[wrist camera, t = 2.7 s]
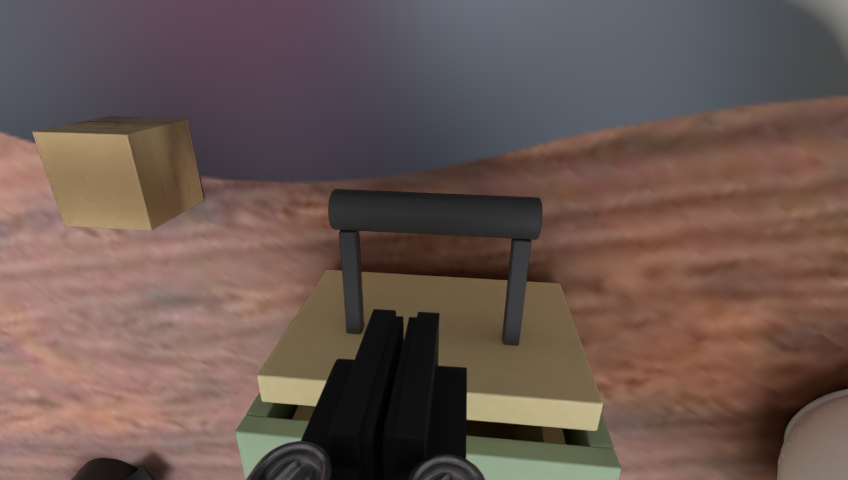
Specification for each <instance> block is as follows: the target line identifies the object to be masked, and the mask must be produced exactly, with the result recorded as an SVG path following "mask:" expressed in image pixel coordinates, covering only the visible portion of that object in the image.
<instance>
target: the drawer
mask: <svg viewBox="0 0 848 480" xmlns="http://www.w3.org/2000/svg"><path fill="white" fill-rule="evenodd" d="M328 215H329V222H330V225H331V227H332V228H333V229H335V230H340V232H339V236H340V250H341V264H342V271H341V270H326V271H325V273H324V274H323V276H322V277H321V279H320V280H319V282H318V283H317V285H316V286H315V288H314V290H313V291H312V293H311V294H310V296H309V297H308V299H307V300H306V302H305V303H304V305H303V306H302V308H301V309H300V311H299V312H298V314H297V315H296V317H295V318H294V320H293V322H292V323H291V325H290V326H289V328H288V329H287V331H286V332H285V334H284V335H283V337H282V338H281V340H280V341H279V343H278V344H277V346H276V347H275V349H274V350H273V352H272V353H271V355H270V357H269V358H268V360H267V361H266V363H265V364H264V366H263V367H262V369H261V370H260V372H259V373H258V375H257V379H258V384H259V390H260V395H261V401H263V402H271V403H282V404H293V405H299V406H298V408H297V410H296V412H295V414H294V416H293V418H292V420H302V421H310V418H311V416H312V414H313V411H314V409H315V407H316V404H317V402H318V400H319V398H320V395H321V393H322V391H323V388H324V386H325V384H326V381H327V379H328V377H329V374H330V372H331V370H332V368H333V365H334V363H335V361H336V360H337V359H352V360H355V357H356V354H357V352H358V349H359V346H360V344H361V341H362V338H363V336H364V333H365V330H366V328H367V325H368V322H369V320H370V317H371V314H372V312H373V310H374V309H383V310H395V311H396V316H403V319H404V338H405V333H406V329H407V325H408V320H409V317H417V314H418V312H432V313H439V316H440V317H439V352H438V366H451V367H465V368H467V427H466V435H467V436H478V437H489V438H500V439H510V440H521V441H532V442H543V443H554V444H565V445H566V442H565V438H564V433H563V429H562V428H567V429H578V430H589V431H597V429H598V424H599V420H600V415H601V411H602V407H603V403H602V400H601V397H600V394H599V391H598V389H597V386H596V383H595V380H594V377H593V375H592V372H591V369H590V366H589V363H588V361H587V358H586V355H585V352H584V349H583V347H582V344H581V341H580V338H579V335H578V333H577V330H576V327H575V324H574V321H573V319H572V316H571V313H570V310H569V307H568V304H567V302H566V299H565V296H564V293H563V290H562V288H561V285H560V284H559V283H544V282H527V273H528V264H529V256H530V247H531V240H530V239H533V240H536V239H538V237H539V235H540V231H541V225H542V202H541V199H540V198H535V197H512V196H488V195H464V194H440V193H416V192H392V191H368V190H344V189H335V190H333V191H332V193H331V196H330V200H329V207H328ZM359 231H374V232H394V233H414V234H434V235H454V236H474V237H494V238H512V241H511V251H510V261H509V271H508V280H493V279H476V278H459V277H442V276H425V275H408V274H391V273H375V272H361V255H360V236H359Z"/></svg>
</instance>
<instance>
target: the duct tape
mask: <svg viewBox="0 0 848 480" xmlns="http://www.w3.org/2000/svg"><path fill="white" fill-rule="evenodd" d="M72 480H155V479H154V478H153V477H152V476H151V475H150V473H149V472H148V471H147V470H146V469H145V468H144V467H143V466H142V467H141V468H140V469H139V470H138V469H136V468H134V467H133V466H131V465H129V464H126V463H124V462H121V461H117V460H113V459H96V460H92V461H90V462H88V463H87V464H85V465H84V467H83V468H82V469H81V470H80V471H79V472H78V473H77V474H76V475H75V476H74V477H73V478H72Z"/></svg>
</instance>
